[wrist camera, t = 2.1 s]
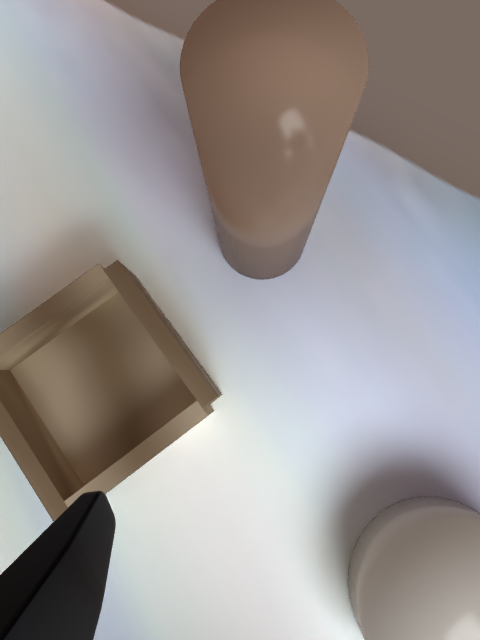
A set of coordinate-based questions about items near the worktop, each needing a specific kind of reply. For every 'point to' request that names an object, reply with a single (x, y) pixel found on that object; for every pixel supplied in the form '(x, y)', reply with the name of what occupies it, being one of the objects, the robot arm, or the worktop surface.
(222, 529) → the worktop surface
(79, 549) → the robot arm
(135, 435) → the tray
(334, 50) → the brown dome-top cylinder
